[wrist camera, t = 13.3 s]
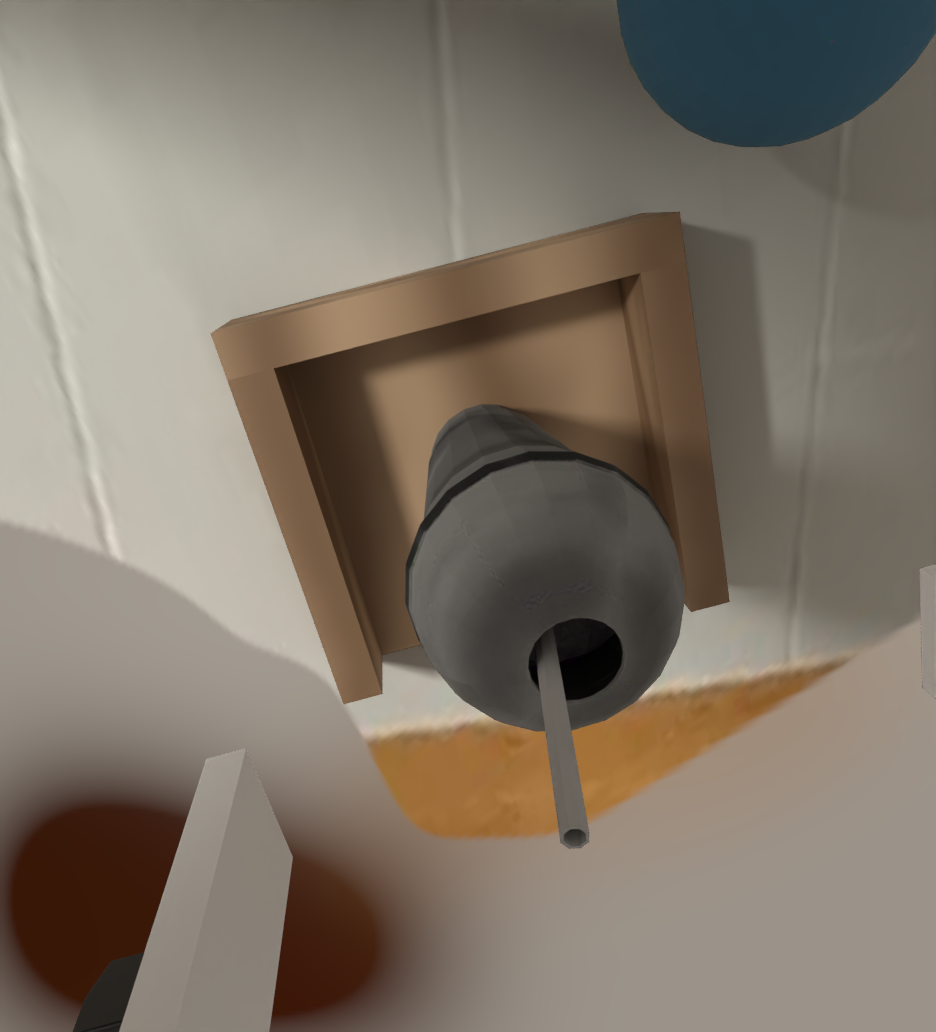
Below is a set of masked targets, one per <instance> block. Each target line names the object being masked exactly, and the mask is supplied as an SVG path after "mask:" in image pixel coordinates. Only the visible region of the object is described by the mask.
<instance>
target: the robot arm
mask: <svg viewBox="0 0 936 1032" xmlns="http://www.w3.org/2000/svg"><path fill="white" fill-rule="evenodd" d="M920 609H921V653H922V654H921V656H922V688H923V689H924V690H926V691H927V692H928V693H929V694H930V695H931V696H932V697H934V698H935V699H936V564H934V565H930V566H926V567H923V568H920ZM292 859H293V857H292V854H291V852H290V850H289V848H288V845H287V843H286V840H285V838H284V836H283V834H282V831H281V829H280V827H279V824H278V822H277V820H276V817H275V815H274V813H273V810H272V808H271V805H270V803H269V801H268V798H267V796H266V794H265V791H264V789H263V787H262V784H261V782H260V780H259V777H258V775H257V773H256V770H255V768H254V766H253V763H252V761H251V759H250V756H249V754H248V752H247V749H242V750H238V751H234V752H231V753H227V754H223V755H219V756H216V757H212V758H208V759H206V762H205V765H204V768H203V771H202V774H201V777H200V780H199V784H198V787H197V790H196V793H195V796H194V799H193V802H192V806H191V809H190V812H189V815H188V818H187V821H186V824H185V827H184V830H183V834H182V837H181V840H180V843H179V846H178V849H177V852H176V855H175V859H174V862H173V865H172V868H171V871H170V874H169V877H168V881H167V884H166V887H165V890H164V893H163V896H162V899H161V902H160V906H159V909H158V912H157V915H156V918H155V921H154V925H153V927H152V931H151V934H150V937H149V940H148V943H147V946H146V950H145V952H144V953H140V954H136V955H133V956H129V957H125V958H122V959H118V960H114V961H111V962H110V964H109V965H108V967H107V968H106V969H105V971H104V972H103V973H102V975H101V976H100V978H99V979H98V981H97V982H96V983H95V985H94V986H93V987H92V989H91V990H90V992H89V993H88V995H87V996H86V998H85V1000H84V1003H83V1006H82V1008H81V1011H80V1014H79V1016H78V1019H77V1022H76V1024H75V1028H74V1030H73V1032H269V1029H270V1022H271V1014H272V1007H273V1000H274V992H275V985H276V977H277V970H278V963H279V955H280V948H281V940H282V933H283V926H284V918H285V911H286V903H287V895H288V888H289V881H290V873H291V866H292Z"/></svg>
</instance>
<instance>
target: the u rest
mask: <svg viewBox="0 0 936 1032" xmlns="http://www.w3.org/2000/svg"><path fill="white" fill-rule="evenodd" d="M211 336H212V339H213V341H214V344H215V347H216V350H217V353H218V355H219V358H220V361H221V364H222V366H223V369H224V372H225V375H226V378H227V380H228V383H229V386H230V389H231V392H232V394H233V397H234V400H235V403H236V406H237V408H238V411H239V414H240V417H241V419H242V422H243V425H244V428H245V431H246V433H247V436H248V439H249V442H250V445H251V447H252V450H253V453H254V456H255V459H256V461H257V464H258V467H259V470H260V472H261V475H262V478H263V481H264V484H265V486H266V489H267V492H268V495H269V498H270V500H271V503H272V506H273V509H274V511H275V514H276V517H277V520H278V523H279V525H280V528H281V531H282V534H283V537H284V539H285V542H286V545H287V548H288V551H289V553H290V556H291V559H292V562H293V564H294V567H295V570H296V573H297V576H298V578H299V581H300V584H301V587H302V590H303V592H304V595H305V598H306V601H307V603H308V606H309V609H310V612H311V615H312V617H313V620H314V623H315V626H316V629H317V631H318V634H319V637H320V640H321V643H322V645H323V648H324V651H325V654H326V656H327V659H328V662H329V665H330V668H331V670H332V673H333V676H334V679H335V682H336V684H337V687H338V690H339V693H340V696H341V698H342V701H343V704H346V703H350V702H354V701H357V700H361V699H365V698H369V697H372V696H376V695H380V694H382V655H384V654H388V653H392V652H396V651H399V650H403V649H407V648H411V647H414V646H418V645H421V643H420V642H419V640H418V638H417V635H416V633H415V630H414V627H413V624H412V621H411V619H410V616H409V613H408V610H407V607H406V605H405V568H406V561H407V558H408V556H409V553H410V550H411V547H412V545H413V542H414V539H415V537H416V534H417V531H418V528H419V526H420V524H421V522H422V521H423V520H424V511H425V500H426V489H427V478H428V467H429V459H430V457H431V454H432V448H433V445H434V443H435V440H436V437H437V434H438V433H439V431H440V430H441V429H442V428H443V426H444V425H445V424H446V422H447V421H448V420H449V419H450V418H452V417H453V416H455V415H456V414H458V413H459V412H461V411H462V410H464V409H467V408H470V407H474V406H477V405H480V404H492V405H501V406H504V407H507V408H510V409H513V410H515V411H517V412H518V413H520V414H523V415H525V416H526V417H528V418H529V419H530V420H532V421H533V422H534V423H536V424H537V425H538V426H540V427H541V428H542V429H544V430H545V431H546V432H548V433H549V434H550V435H552V436H553V437H554V438H556V439H557V440H558V441H560V442H561V443H562V444H564V445H565V446H566V447H568V448H569V449H570V450H572V451H575V452H578V453H581V454H583V455H586V456H589V457H592V458H595V459H598V460H601V461H604V462H607V463H610V464H613V465H616V466H617V467H618V468H619V469H621V470H622V471H623V472H624V473H626V474H627V475H628V476H630V477H631V478H632V479H633V480H635V481H636V482H637V483H639V484H640V485H641V486H642V487H644V488H645V489H646V490H647V491H648V492H649V494H650V496H651V497H652V499H653V500H654V502H655V504H656V505H657V507H658V508H659V510H660V512H661V513H662V515H663V517H664V518H665V520H666V521H667V523H668V526H669V530H670V535H671V538H672V539H673V541H674V543H675V547H676V550H677V553H678V558H679V563H680V568H681V573H682V578H683V584H684V589H685V597H684V604H685V605H686V606H687V607H688V609H689V610H690V611H691V612H693V611H696V610H700V609H704V608H708V607H712V606H715V605H719V604H723V603H727V602H729V594H728V586H727V578H726V570H725V562H724V555H723V547H722V539H721V531H720V523H719V515H718V508H717V500H716V492H715V484H714V476H713V468H712V461H711V453H710V445H709V437H708V429H707V421H706V414H705V406H704V398H703V390H702V382H701V374H700V367H699V359H698V351H697V343H696V335H695V327H694V320H693V312H692V304H691V296H690V288H689V280H688V272H687V265H686V257H685V249H684V241H683V233H682V225H681V218H680V212H660V213H642V214H638V215H634V216H630V217H627V218H623V219H619V220H615V221H611V222H607V223H603V224H600V225H596V226H592V227H588V228H584V229H580V230H576V231H573V232H569V233H565V234H561V235H557V236H553V237H549V238H546V239H542V240H538V241H534V242H530V243H526V244H523V245H519V246H515V247H511V248H507V249H503V250H499V251H496V252H492V253H488V254H484V255H480V256H476V257H472V258H469V259H465V260H461V261H457V262H453V263H449V264H445V265H442V266H438V267H434V268H430V269H426V270H422V271H418V272H415V273H411V274H407V275H403V276H399V277H395V278H391V279H388V280H384V281H380V282H376V283H372V284H368V285H364V286H361V287H357V288H353V289H349V290H345V291H341V292H337V293H334V294H330V295H326V296H322V297H318V298H314V299H310V300H307V301H303V302H299V303H295V304H291V305H287V306H283V307H280V308H276V309H272V310H268V311H264V312H260V313H256V314H253V315H249V316H245V317H241V318H237V319H233V320H231V321H229V322H228V323H226V324H225V325H223V326H221V327H220V328H218V329H217V330H215V331H214V332H212V333H211Z"/></svg>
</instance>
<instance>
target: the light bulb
mask: <svg viewBox="0 0 936 1032" xmlns="http://www.w3.org/2000/svg"><path fill="white" fill-rule="evenodd" d="M617 6H618V13H619V20H620V27H621V35H622V38H623V41H624V44H625V47H626V50H627V53H628V56H629V60H630V63H631V65H632V67H633V68H634V70H635V72H636V74H637V76H638V78H639V79H640V81H641V83H642V85H643V87H644V88H645V90H646V91H647V92H648V93H649V94H650V96H651V97H652V98H653V99H654V100H655V102H656V103H657V104H658V105H659V106H660V108H661V109H662V110H663V111H664V112H665V113H667V114H668V115H669V116H670V117H672V118H673V119H674V120H676V121H677V122H678V123H679V124H681V125H682V126H683V127H685V128H686V129H687V130H689V131H691V132H694V133H696V134H698V135H700V136H702V137H704V138H707V139H709V140H711V141H714V142H719V143H724V144H729V145H734V146H741V147H766V146H782V145H786V144H790V143H794V142H798V141H801V140H805V139H809V138H811V137H814V136H816V135H819V134H821V133H823V132H825V131H828V130H830V129H832V128H834V127H836V126H838V125H840V124H842V123H844V122H846V121H848V120H850V119H852V118H853V117H855V116H856V115H857V114H859V113H860V112H861V111H863V110H864V109H866V108H867V107H868V106H870V105H871V104H872V103H874V102H875V101H876V100H878V99H879V98H880V97H881V96H882V95H883V94H884V93H885V92H887V91H888V90H889V89H890V88H891V87H892V86H893V85H894V84H895V83H896V82H897V81H898V80H899V79H900V78H901V77H902V76H903V74H904V73H905V72H906V71H907V70H908V69H909V68H910V67H911V66H912V65H913V64H914V63H915V62H916V60H917V59H918V57H919V56H920V55H921V53H922V52H923V50H924V49H925V47H926V46H927V44H928V43H929V42H930V40H931V39H932V37H933V36H934V34H935V33H936V0H617Z"/></svg>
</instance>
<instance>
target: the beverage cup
mask: <svg viewBox="0 0 936 1032" xmlns="http://www.w3.org/2000/svg"><path fill="white" fill-rule="evenodd" d="M684 597H685V589H684V584H683V578H682V573H681V568H680V563H679V558H678V553H677V550H676V547H675V543H674V541H673V539H672V538H671V535H670V530H669V526H668V523H667V521H666V520H665V518H664V517H663V515H662V513H661V512H660V510H659V508H658V507H657V505H656V504H655V502H654V500H653V499H652V497H651V496H650V494H649V492H648V491H647V490H646V489H645V488H644V487H642V486H641V485H640V484H639V483H637V482H636V481H635V480H633V479H632V478H631V477H630V476H628V475H627V474H626V473H624V472H623V471H622V470H621V469H619V468H618V467H617V466H616V465H613V464H610V463H607V462H604V461H601V460H598V459H595V458H592V457H589V456H586V455H583V454H581V453H578V452H575V451H572V450H570V449H569V448H568V447H566V446H565V445H564V444H562V443H561V442H560V441H558V440H557V439H556V438H554V437H553V436H552V435H550V434H549V433H548V432H546V431H545V430H544V429H542V428H541V427H540V426H538V425H537V424H536V423H534V422H533V421H532V420H530V419H529V418H528V417H526V416H525V415H523V414H520V413H518V412H517V411H515V410H513V409H510V408H507V407H504V406H501V405H492V404H480V405H477V406H474V407H470V408H467V409H464V410H462V411H461V412H459V413H458V414H456V415H455V416H453V417H452V418H450V419H449V420H448V421H447V422H446V424H445V425H444V426H443V428H442V429H441V430H440V431H439V433H438V434H437V437H436V440H435V443H434V445H433V448H432V454H431V457H430V459H429V467H428V478H427V489H426V500H425V511H424V520H423V521H422V522H421V524H420V526H419V528H418V531H417V534H416V537H415V539H414V542H413V545H412V547H411V550H410V553H409V556H408V558H407V561H406V568H405V605H406V607H407V610H408V613H409V616H410V619H411V621H412V624H413V627H414V630H415V633H416V635H417V638H418V640H419V642H420V643H421V645H422V646H423V647H424V649H425V652H426V655H427V657H428V658H429V660H430V662H431V663H432V665H433V666H434V668H435V669H436V670H437V671H438V673H439V674H440V675H441V676H442V677H443V679H444V680H445V681H446V682H447V683H448V685H449V686H450V687H451V688H452V689H453V691H454V692H455V693H456V694H457V695H458V696H459V697H460V698H461V699H462V700H464V701H465V702H467V703H468V704H470V705H471V706H473V707H475V708H476V709H478V710H480V711H481V712H483V713H485V714H486V715H488V716H490V717H491V718H493V719H494V720H497V721H499V722H502V723H505V724H509V725H513V726H517V727H521V728H525V729H529V730H533V731H545V732H546V739H547V747H548V754H549V761H550V769H551V776H552V784H553V791H554V798H555V806H556V813H557V820H558V828H559V835H560V841H561V843H562V844H563V845H565V846H566V847H568V848H569V849H570V848H581V847H583V846H584V845H585V844H587V843H588V842H589V829H588V823H587V817H586V812H585V806H584V800H583V795H582V789H581V783H580V778H579V772H578V766H577V761H576V755H575V749H574V744H573V738H572V732H571V730H575V729H578V728H581V727H585V726H588V725H591V724H595V723H598V722H601V721H605V720H607V719H608V718H610V717H612V716H613V715H615V714H616V713H618V712H620V711H621V710H623V709H625V708H626V707H628V706H629V705H631V704H633V703H634V702H636V701H637V700H638V699H639V698H640V697H641V696H642V694H643V693H644V692H645V691H646V690H647V689H648V688H649V687H650V686H651V685H652V684H653V683H654V682H655V681H656V680H657V678H658V677H659V676H660V675H661V673H662V671H663V669H664V667H665V665H666V663H667V661H668V659H669V657H670V655H671V653H672V651H673V649H674V647H675V645H676V643H677V640H678V638H679V634H680V627H681V620H682V613H683V607H684Z"/></svg>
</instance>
